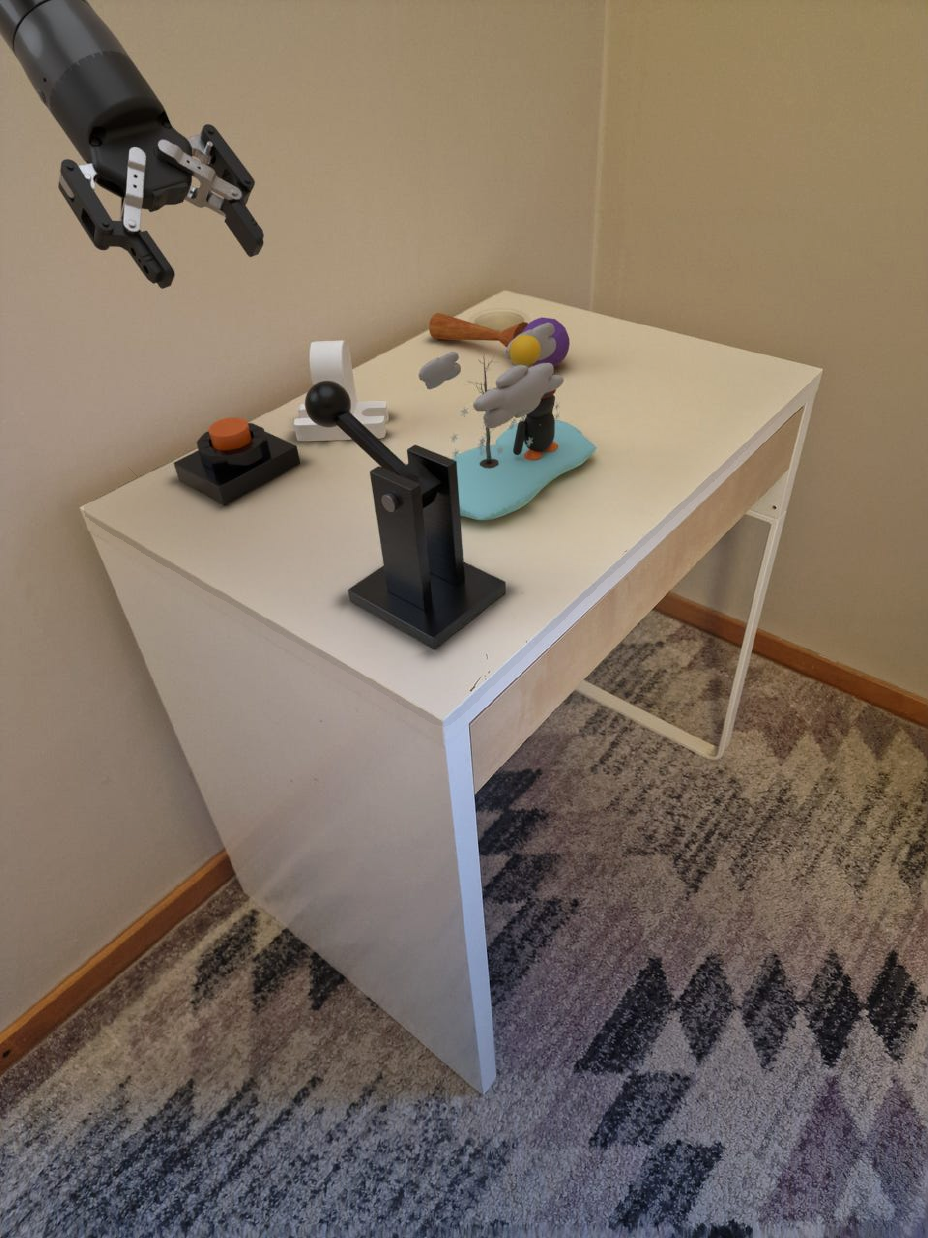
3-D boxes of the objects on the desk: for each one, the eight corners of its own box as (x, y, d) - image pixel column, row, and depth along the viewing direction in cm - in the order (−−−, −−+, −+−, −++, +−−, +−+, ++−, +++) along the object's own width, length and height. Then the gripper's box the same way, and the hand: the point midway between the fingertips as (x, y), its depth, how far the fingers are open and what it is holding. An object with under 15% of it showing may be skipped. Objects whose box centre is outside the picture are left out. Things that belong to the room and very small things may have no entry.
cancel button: (228, 455, 86) (224, 440, 84) (204, 444, 88) (200, 428, 87) (259, 439, 88) (256, 424, 87) (235, 428, 90) (232, 413, 89)
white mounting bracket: (304, 418, 98) (287, 334, 92) (389, 415, 98) (378, 330, 91) (295, 441, 94) (277, 355, 88) (384, 438, 94) (373, 351, 87)
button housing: (224, 506, 85) (214, 471, 83) (178, 480, 90) (167, 447, 87) (300, 463, 91) (293, 430, 88) (254, 441, 95) (246, 409, 92)
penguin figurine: (538, 424, 94) (538, 285, 84) (616, 456, 88) (625, 311, 78) (403, 501, 84) (385, 354, 74) (481, 542, 78) (472, 388, 68)
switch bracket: (349, 600, 73) (324, 470, 65) (421, 550, 78) (407, 423, 69) (434, 649, 68) (420, 515, 59) (506, 592, 73) (502, 461, 64)
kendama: (451, 299, 113) (580, 317, 102) (451, 345, 116) (576, 367, 105) (421, 305, 109) (552, 324, 98) (422, 353, 112) (549, 377, 101)
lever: (293, 414, 68) (297, 381, 65) (326, 397, 70) (332, 364, 67) (406, 523, 66) (417, 493, 63) (438, 502, 68) (449, 472, 65)
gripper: (6, 64, 59) (145, 264, 61) (179, 33, 67) (299, 211, 69) (2, 141, 66) (129, 320, 67) (161, 104, 73) (271, 266, 75)
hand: (215, 265), depth 68 cm, fingers open, 8 cm apart
